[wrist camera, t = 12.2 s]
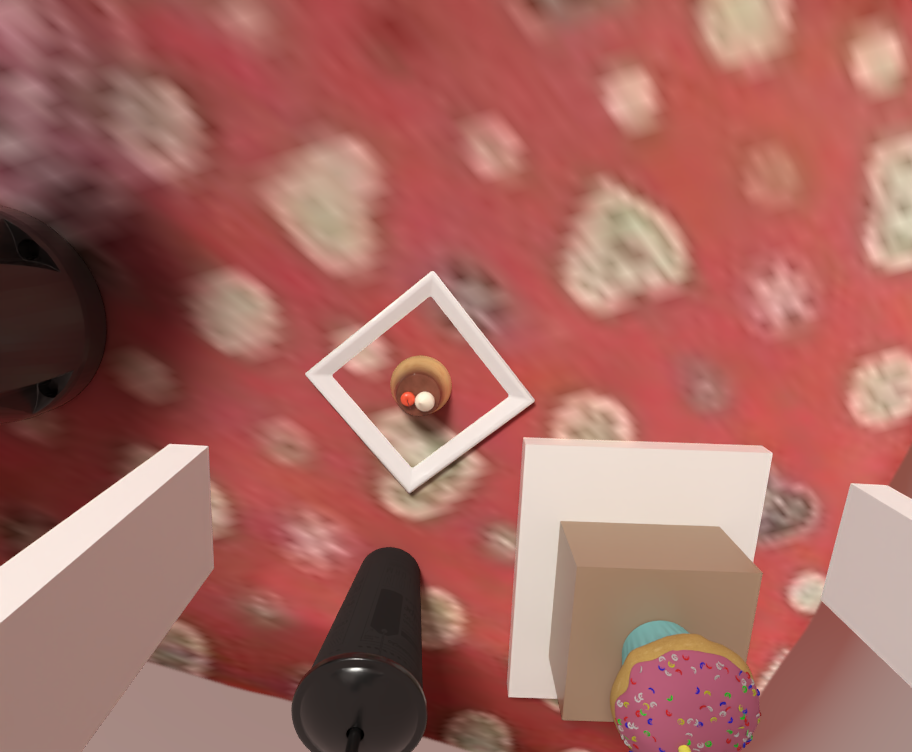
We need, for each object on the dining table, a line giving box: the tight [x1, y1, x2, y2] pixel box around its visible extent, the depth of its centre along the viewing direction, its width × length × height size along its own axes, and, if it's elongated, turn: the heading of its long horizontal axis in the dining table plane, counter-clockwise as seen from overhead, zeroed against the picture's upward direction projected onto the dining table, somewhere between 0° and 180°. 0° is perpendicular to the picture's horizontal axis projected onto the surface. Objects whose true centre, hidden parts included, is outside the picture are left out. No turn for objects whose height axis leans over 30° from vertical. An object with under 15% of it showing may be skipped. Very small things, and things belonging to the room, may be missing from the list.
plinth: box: [507, 437, 773, 722], centre depth 40 cm, size 18×22×8 cm
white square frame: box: [306, 271, 535, 493], centre depth 38 cm, size 12×12×5 cm
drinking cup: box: [292, 547, 427, 752], centre depth 34 cm, size 8×8×20 cm
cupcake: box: [610, 620, 761, 752], centre depth 31 cm, size 9×8×12 cm
